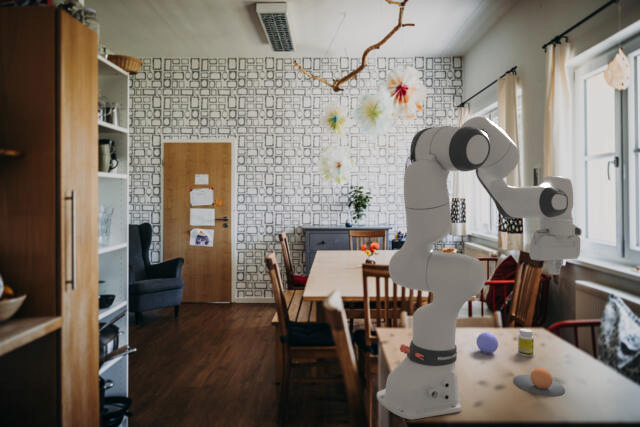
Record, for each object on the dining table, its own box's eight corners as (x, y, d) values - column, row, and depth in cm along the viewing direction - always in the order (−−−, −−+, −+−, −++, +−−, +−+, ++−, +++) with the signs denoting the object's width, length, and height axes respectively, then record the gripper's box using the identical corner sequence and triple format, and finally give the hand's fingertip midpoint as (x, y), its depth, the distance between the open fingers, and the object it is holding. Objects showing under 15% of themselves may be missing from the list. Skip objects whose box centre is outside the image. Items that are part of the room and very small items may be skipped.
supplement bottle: (535, 357, 134) (535, 332, 134) (520, 356, 135) (520, 331, 135) (530, 352, 139) (531, 328, 139) (516, 351, 140) (516, 327, 140)
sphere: (493, 349, 141) (494, 330, 141) (500, 357, 134) (501, 336, 134) (473, 348, 142) (474, 329, 142) (479, 356, 135) (480, 335, 135)
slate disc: (546, 400, 105) (546, 399, 105) (503, 380, 116) (503, 380, 116) (574, 389, 111) (575, 389, 111) (531, 372, 122) (531, 371, 122)
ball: (545, 384, 107) (549, 366, 110) (524, 380, 111) (529, 362, 114) (553, 395, 109) (557, 376, 112) (532, 390, 113) (537, 372, 116)
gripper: (544, 229, 114) (543, 277, 114) (585, 230, 124) (583, 274, 124) (524, 228, 120) (523, 274, 120) (564, 229, 129) (563, 271, 129)
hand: (554, 274), depth 122 cm, fingers closed
